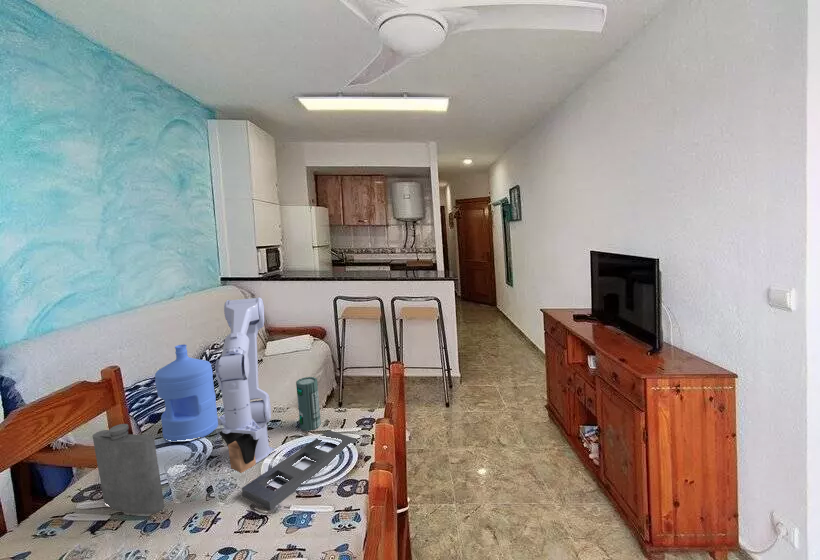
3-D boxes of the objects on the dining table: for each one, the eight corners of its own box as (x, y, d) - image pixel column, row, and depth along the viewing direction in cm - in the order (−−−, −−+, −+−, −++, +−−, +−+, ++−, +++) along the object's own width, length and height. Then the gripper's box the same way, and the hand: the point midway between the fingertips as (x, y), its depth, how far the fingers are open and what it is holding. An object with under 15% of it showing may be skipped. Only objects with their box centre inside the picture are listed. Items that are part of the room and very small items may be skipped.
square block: (230, 468, 97) (228, 444, 96) (245, 459, 100) (243, 436, 99) (241, 473, 95) (238, 449, 94) (255, 464, 98) (253, 441, 97)
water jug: (194, 416, 139) (184, 337, 135) (229, 422, 134) (220, 340, 129) (151, 440, 125) (138, 352, 121) (189, 448, 119) (176, 356, 115)
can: (306, 420, 133) (303, 376, 131) (323, 422, 131) (320, 377, 129) (297, 429, 127) (292, 384, 125) (314, 431, 125) (310, 385, 123)
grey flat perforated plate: (242, 495, 97) (241, 488, 97) (329, 436, 122) (329, 430, 122) (270, 509, 92) (269, 501, 91) (355, 444, 117) (355, 438, 117)
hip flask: (167, 504, 95) (155, 424, 92) (152, 517, 91) (139, 434, 88) (113, 496, 99) (100, 419, 96) (97, 508, 95) (83, 428, 92)
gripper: (203, 405, 96) (209, 458, 98) (241, 419, 88) (247, 477, 90) (230, 394, 102) (236, 444, 104) (268, 406, 94) (273, 460, 96)
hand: (243, 458), depth 97 cm, fingers closed on square block, 4 cm apart
